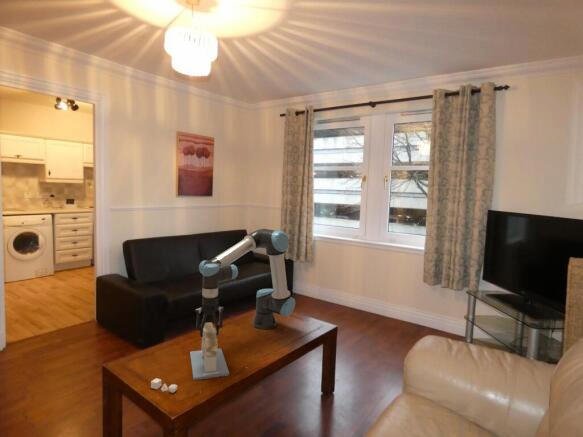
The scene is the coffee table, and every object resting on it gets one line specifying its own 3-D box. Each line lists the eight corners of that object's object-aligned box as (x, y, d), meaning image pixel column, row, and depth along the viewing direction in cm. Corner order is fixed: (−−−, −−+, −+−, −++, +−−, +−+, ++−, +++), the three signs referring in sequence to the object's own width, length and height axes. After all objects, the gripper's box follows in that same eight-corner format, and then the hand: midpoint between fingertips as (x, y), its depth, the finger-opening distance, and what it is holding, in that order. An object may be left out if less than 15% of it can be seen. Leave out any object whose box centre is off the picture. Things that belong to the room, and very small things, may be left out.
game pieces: (150, 388, 149) (150, 381, 149) (156, 384, 152) (156, 377, 152) (173, 395, 145) (173, 387, 144) (178, 391, 148) (178, 383, 148)
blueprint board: (220, 350, 186) (221, 335, 185) (228, 375, 161) (229, 358, 161) (190, 353, 180) (190, 338, 180) (193, 380, 156) (193, 362, 155)
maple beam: (211, 335, 181) (211, 322, 181) (217, 354, 161) (217, 339, 160) (201, 336, 180) (202, 323, 179) (206, 355, 159) (206, 341, 159)
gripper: (191, 299, 162) (190, 347, 164) (230, 297, 168) (228, 343, 170) (190, 294, 169) (189, 340, 171) (227, 292, 175) (226, 337, 177)
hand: (209, 342), depth 170 cm, fingers closed on maple beam, 5 cm apart
